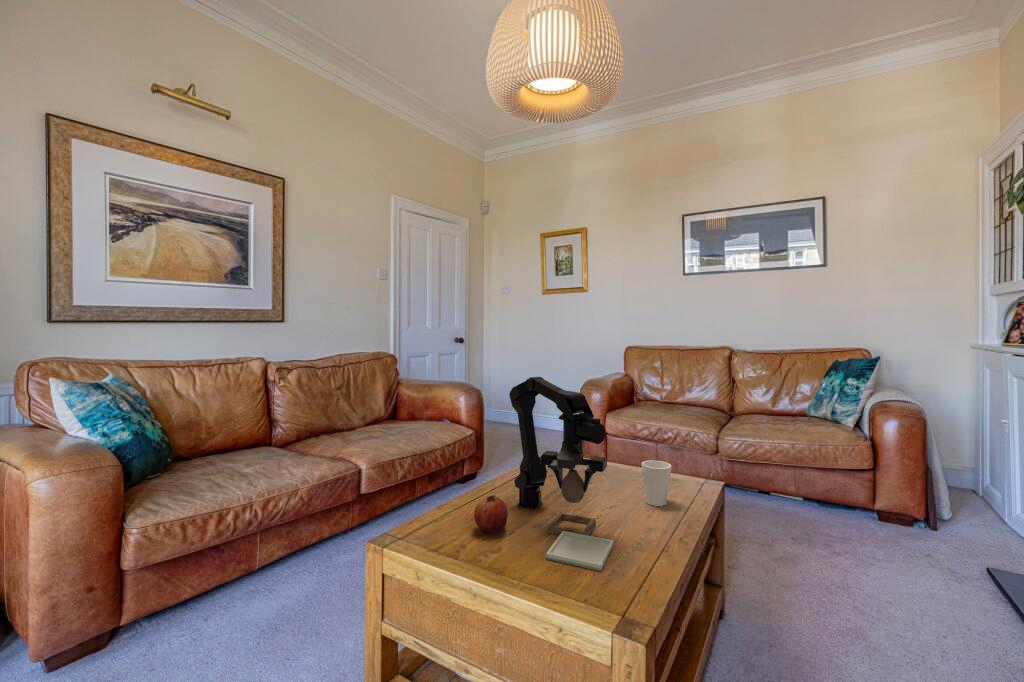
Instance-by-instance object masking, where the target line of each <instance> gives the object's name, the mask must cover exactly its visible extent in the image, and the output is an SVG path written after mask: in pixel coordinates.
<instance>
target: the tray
mask: <svg viewBox="0 0 1024 682" xmlns="http://www.w3.org/2000/svg"><path fill="white" fill-rule="evenodd" d="M613 547H614V539H613V540H612V539H609V538H603V537H598V536H597V537H596V536H593V535H589V536H588V535H583V534H577V533H572V532H567V531H563V532H562V533H561V534H560V535H558V537H557V538H556V540H555V541H554V542H553V544H552V545H551V546H550V548H549V549H548V550H547V551H546V554H545V560H548V561H552V562H557V563H561V564H566V565H571V566H575V567H580V568H585V569H589V570H593V571H597V572H602V571H603V568H604V567H605V564H606V562H607V560H608V558H609V556H610V553H611V551H612V549H613Z"/></svg>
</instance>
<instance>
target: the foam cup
mask: <svg viewBox="0 0 1024 682" xmlns="http://www.w3.org/2000/svg"><path fill="white" fill-rule="evenodd" d="M641 471H642V478H643V488H644V495H645V500H646V504H647V503H648V505H649V504H650V505H649V506H651V505H654V506H653V507H656V506H662V507H664V506H663V505H665V504H666V505H667V502H668V493H669V486H670V480H671V475H672V465H671V463H669V462H666V461H662V460H653V459H652V460H650V459H649V460H644V461H642V462H641ZM666 505H665V506H666Z"/></svg>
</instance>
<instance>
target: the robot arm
mask: <svg viewBox="0 0 1024 682" xmlns="http://www.w3.org/2000/svg"><path fill="white" fill-rule="evenodd" d="M539 395H541V396H542V397H543V398H546V399H547V400H550V401H551V402H552V403H555V406H556V409H557V410H559V411H560V412H561V413H562V414H560V415H559V416H558V420H560V421H563V428H562V430H563V431H562V432H563V434H562V435H563V438H562V439H563V441H561V442H562V444H561V448H560V451H553V450H552V451H551V450H546V451H545V452H543V453H542V454H541V455H539V451H538V444H537V437H536V435H537V434H536V430H535V429H536V428H535V421H534V415H533V412H534V408H535V405H536V403H537V402H536V397H537V396H539ZM509 399H510V403H511V406H512V408H513V409H514V410H515V412H516V413H517V420H518V425H519V433H520V434H519V435H520V442H521V448H522V449H521V450H522V460H521V462H520V465H519V474H518V475H517V476H516V478H515V479H514V486H515V488H517V489H518V490H519V491H518V493H519V495H518V503H517V505H516V507H518V506H519V507H518V508H524V509H529V510H536V509H537V508H538V507H539V506H540V505H541V504H542V503H543V500H542V491H541V487H544V485H545V483H546V482H545V481H546V479H547V475H548V474H547V473H548V471H547V468H549V469H551V471H553V473H554V475H555V478H556V481H557V484H558V487H559V489H560V490H561V484H562V481H563V479H564V476H563V475H564V474H563V473H564V472H563V470H564V469H566V470H568V471H569V470H575V468H576V466H585V467H586V469H585V470H584V480H583V481H584V492H585V493H587V491H588V488H589V485H590V482H591V479H592V478H593V475H595V474H596V473H597V472H598V473H603V472H604V471H605V470H606V469H607V467H608V460H607V458H606V457H604V456H598V455H597V456H596V455H593V456H592V457H591V458H584V456H585V455H584V454H585V453H584V442H588V443H591V444H595V445H599V444H602V443H603V442H604V440H605V438H606V434H607V431H606V428H605V426H604V424H602V423H601V418H597V417H595V415H594V412H593V411H592V409H591V407H590V405H589V402H588V400H587V399H586V396H585V395H584V394H583V393H582V392H577V391H573V390H572V391H571V390H565V389H563V388H561V387H559V386H558V385H555V384H553V383H551V382H549V381H548V380H546V379H544V378H543V377H541V376H531V377H529V378H527V379H526V380H525V381H523V382H521V383H519V384H517V385H515V386H513V387H512V388H511V390H510V391H509Z"/></svg>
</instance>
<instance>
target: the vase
mask: <svg viewBox="0 0 1024 682" xmlns="http://www.w3.org/2000/svg"><path fill="white" fill-rule="evenodd" d="M584 481H585V480H583V478H582V477H581V475H580V474H579V472H578V470H577V469H573V470H569V469H568V472H567V474H566V475H565V476H564V477H563V481H562V484H561V489H560V490H561V495H562V498H563V499H564V500H565V501H566V502H567V503H570V504H577V503H579V502H581V501H582V500H583V499H584V496H585V493H586V492H584Z"/></svg>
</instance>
